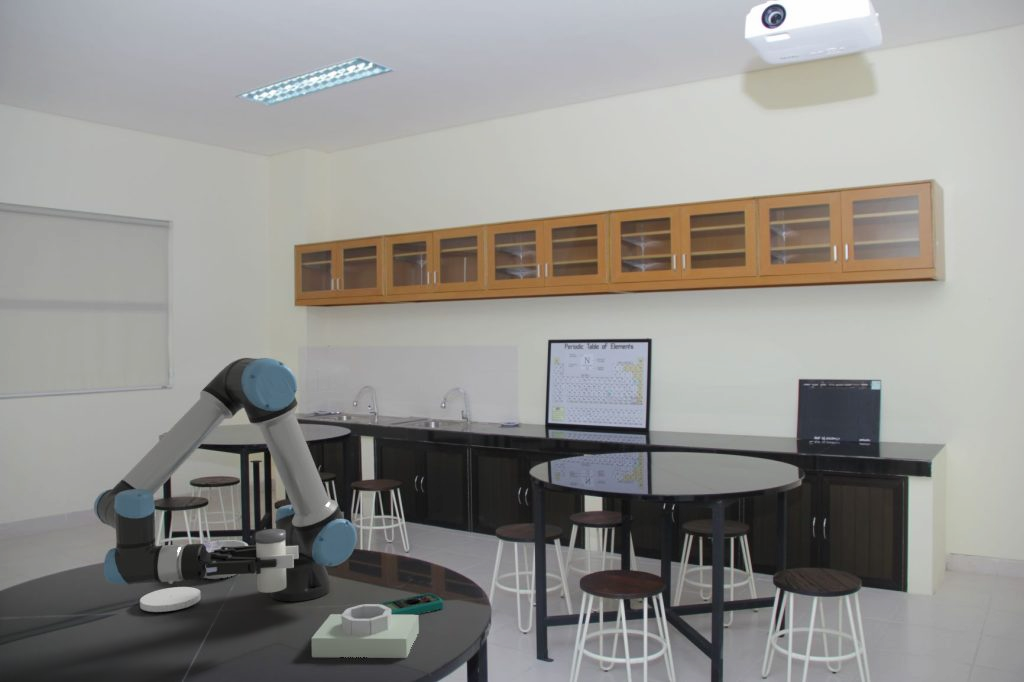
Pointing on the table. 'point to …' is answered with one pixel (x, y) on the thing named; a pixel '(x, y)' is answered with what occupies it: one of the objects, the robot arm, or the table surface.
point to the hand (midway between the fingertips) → (295, 556)
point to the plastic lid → (170, 599)
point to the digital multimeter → (414, 604)
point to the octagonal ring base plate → (366, 633)
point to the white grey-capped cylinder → (265, 546)
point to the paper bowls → (217, 545)
